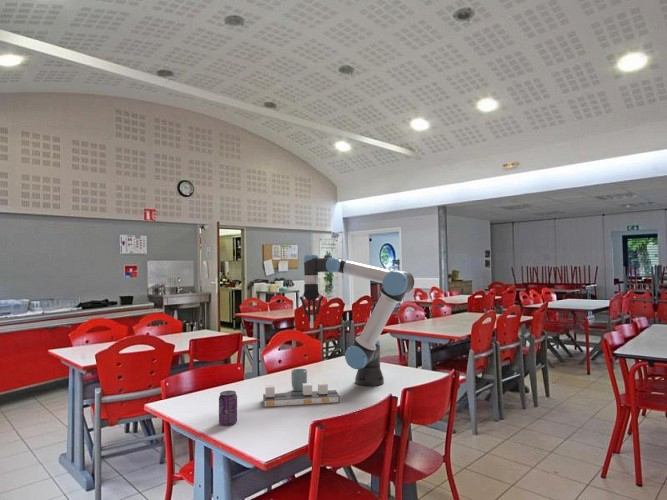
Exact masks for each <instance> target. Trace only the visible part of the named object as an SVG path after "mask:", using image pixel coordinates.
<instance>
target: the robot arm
mask: <svg viewBox="0 0 667 500" xmlns="http://www.w3.org/2000/svg"><path fill="white" fill-rule="evenodd" d="M303 269H304V270H303V275H304V277H303V279H304V280H303V283H304V285H303V291H304V292H303V293H302V295H301V296H299V300H300V301H301V304H302V309H303V313H304V315H306V316H307V322H309V328H310V329H314V322H316V315H319V313H320V309H321V304H322V301H323V299H324V296H323V295H321V294H320V292H319V273H340V274H344V275H348V276H352V277H355V278H360V279H365V280H367V281H371V282H374V283H375V282H376V283H379V284H382V285H381V288H380V290H379V292H380V297H379V298H378V301H377V302H376V304H375V306H374V309H373V311H372V312H371V314H370V316H369V318H368V320H367V322H366V324H365V325H364V328H363V330H362V331H361V333H360V335H359V336H356V337H355V339H354V340H353V342H352V344H351V346H349V347H348V348H347V349H346V351H345V354H344V359H345V362H346V364H347V365H348V366H349V367H350V368H351V369H354V370H357V371H356V375H355V378H354V382H355V384H357V385H359V386H363V387H365V386H366V387H374V386H376V387H377V386H380V385H383V384H384V382H385V381H384V379H385V378H384V375H383V372H382V370H381V342H380V340H379V338H380V336H381V335H382V332H383V330H384V329H385V327H386V325H387V323H388V321H389V319H390V317H391V316H392V313H393V311H394V309H395V307H396V306H397V304H399V303H401V302H402V301H403V299H404V297H405V295H406V294H407V293H409V292H411V291H412V290H413V288H414V286H415V278H414V276H413V274H412V273H410V272H409V271H407V270H399V269H394V268H392V269H386V268H381V267H378V266H377V267H376V266H374V265H368V264H365V263H360V262H356V261H351V260H347V259H344V258H341V257H321V258H320V257H319V255H318V254H305V255H304V257H303ZM317 299H318V301H317ZM305 300H306V301H307V307H306V302H305ZM316 301H317V305H316ZM311 302H312V303H311ZM311 304H312V305H311ZM311 306H312V310H311ZM311 311H312V313H311ZM311 314H312V315H311Z"/></svg>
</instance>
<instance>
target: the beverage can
mask: <svg viewBox="0 0 667 500" xmlns="http://www.w3.org/2000/svg"><path fill="white" fill-rule="evenodd" d="M219 393H220V394H219V397H218V424H220V425H222V426H232V425H235V424H236V423H238V395H237V391H236V390H223V391H221V392H219Z"/></svg>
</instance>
